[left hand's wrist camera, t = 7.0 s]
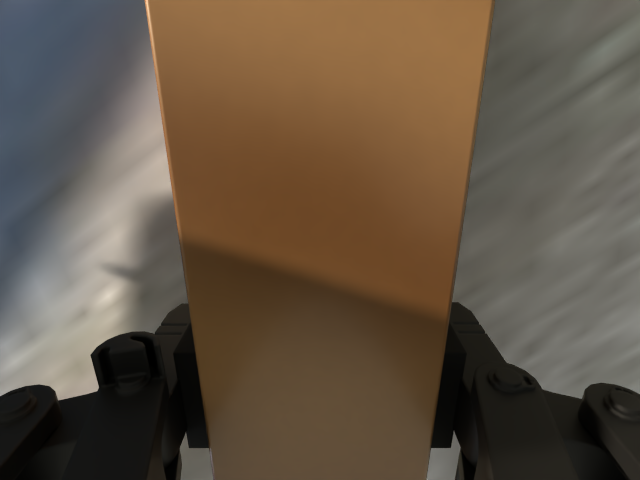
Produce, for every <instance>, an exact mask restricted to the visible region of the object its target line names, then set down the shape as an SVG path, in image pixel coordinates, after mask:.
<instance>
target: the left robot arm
mask: <svg viewBox="0 0 640 480" xmlns="http://www.w3.org/2000/svg"><path fill="white" fill-rule="evenodd" d="M91 358H92V362H93V366H94V370H95V373H96V377H97V381H98V385H99V389H98V391H97V392H93V393H90V394H86V395H82V396H77V397H73V398H68V399H64V400H59V401H58V399H57V396H56V392H55V391H54V390H53V389H52V388H51V387H50V386H44V385H32V386H25V387H22V388H19V389H15V390H12V391H10V392H8V393H6V394H4V395H2V396H0V480H180V478H181V468H182V461H181V454H180V449H179V448H180V446H181V443H182V440H183V438H184V435H185V433H187V439H188V445H189V448H209V443H208V436H207V429H206V422H205V415H204V408H203V401H202V394H201V387H200V381H199V374H198V367H197V360H196V353H195V346H194V339H193V332H192V325H191V318H190V311H189V304H181V305H179V306H178V307H176V308H175V309H173V310H172V311H171V312H169V313H168V315H167V316H166V317H165V319H164V320H163V322H162V323H161V326H159V328H158V329H157V331H156V332H155V334H152V333H149V332H145V331H144V332H130V333H125V334H121V335H118V336H115V337H113V338H111V339H108V340H107V341H105V342H104V343H102V344H101V345H99V346H98V347H97V348H96V349H95V350H94V351H93V353H92V354H91ZM454 431H455V434H456V437H457V439H458V442H459V444H460V447H461V449H460V454H459V460H458V465H457V471H456V476H455V480H640V394H638V393H636V392H634V391H632V390H630V389H627V388H624V387H621V386H618V385H614V384H606V383H598V384H592V385H590V386H589V387H588V388H586V389H585V391H584V395H583V398H582V399H579V398H575V397H570V396H566V395H561V394H557V393H552V392H549V391H546V390H542V388H541V386H540V385H539V383H538V382H537V380H536V379H535V378H534V377H533V376H531V375H530V374H529V373H528V372H526V371H525V370H523V369H521V368H519V367H517V366H515V365H512V364H508V363H506V361H505V360H504V358H503V357H502V356H501V354H500V353H499V351H498V350H497V348H496V347H495V345H494V344H493V342H492V341H491V340H490V338H489V337H488V335H487V334H485V331H484V329H483V328H482V326H481V325H479V322H478V321H477V319H476V318H475V316H474V315H473V313H472V312H471V311H470V310H468V309H467V308H465V307H464V306H463V305H461V304H460V303H458V302H452V304H451V311H450V318H449V325H448V332H447V339H446V346H445V353H444V360H443V367H442V374H441V381H440V388H439V395H438V402H437V408H436V415H435V422H434V429H433V436H432V443H431V448H451V443H452V437H453V432H454Z"/></svg>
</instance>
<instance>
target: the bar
mask: <svg viewBox="0 0 640 480" xmlns="http://www.w3.org/2000/svg"><path fill="white" fill-rule="evenodd" d="M145 5H146V12H147V19H148V26H149V33H150V40H151V47H152V54H153V61H154V68H155V74H156V81H157V88H158V95H159V102H160V109H161V116H162V123H163V130H164V137H165V144H166V151H167V158H168V165H169V172H170V179H171V186H172V193H173V200H174V207H175V214H176V221H177V227H178V234H179V241H180V248H181V255H182V262H183V269H184V276H185V283H186V290H187V297H188V304H189V311H190V318H191V325H192V332H193V339H194V346H195V353H196V360H197V367H198V374H199V381H200V387H201V394H202V401H203V408H204V415H205V422H206V429H207V436H208V443H209V450H210V457H211V464H212V471H213V478H214V480H426V478H427V471H428V464H429V457H430V450H431V443H432V436H433V429H434V422H435V415H436V408H437V402H438V395H439V388H440V381H441V374H442V367H443V360H444V353H445V346H446V339H447V332H448V325H449V318H450V311H451V304H452V297H453V290H454V283H455V277H456V270H457V263H458V256H459V249H460V242H461V235H462V228H463V221H464V214H465V207H466V200H467V193H468V186H469V179H470V172H471V165H472V159H473V152H474V145H475V138H476V131H477V124H478V117H479V110H480V103H481V96H482V89H483V82H484V75H485V68H486V61H487V54H488V47H489V41H490V34H491V27H492V20H493V13H494V6H495V0H145Z"/></svg>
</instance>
